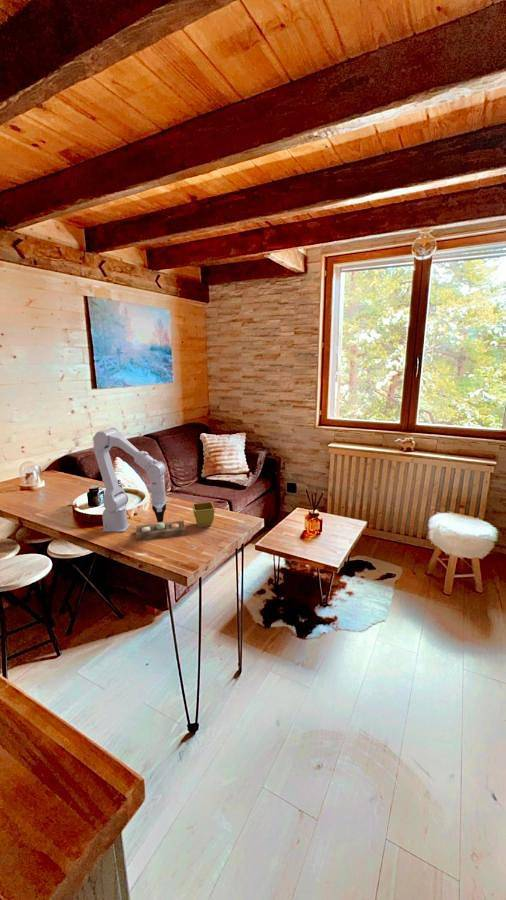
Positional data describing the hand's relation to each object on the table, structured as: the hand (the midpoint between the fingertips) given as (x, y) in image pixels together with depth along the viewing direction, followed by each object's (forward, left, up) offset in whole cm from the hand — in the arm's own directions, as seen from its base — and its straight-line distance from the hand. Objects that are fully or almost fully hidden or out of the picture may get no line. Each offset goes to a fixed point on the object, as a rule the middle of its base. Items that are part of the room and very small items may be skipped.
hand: (160, 521), depth 160 cm
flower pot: (+17, +9, -6) cm, 20 cm away
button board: (0, 0, -5) cm, 5 cm away
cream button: (-6, -2, -5) cm, 8 cm away
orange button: (+6, +2, -5) cm, 8 cm away
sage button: (0, 0, -4) cm, 4 cm away
